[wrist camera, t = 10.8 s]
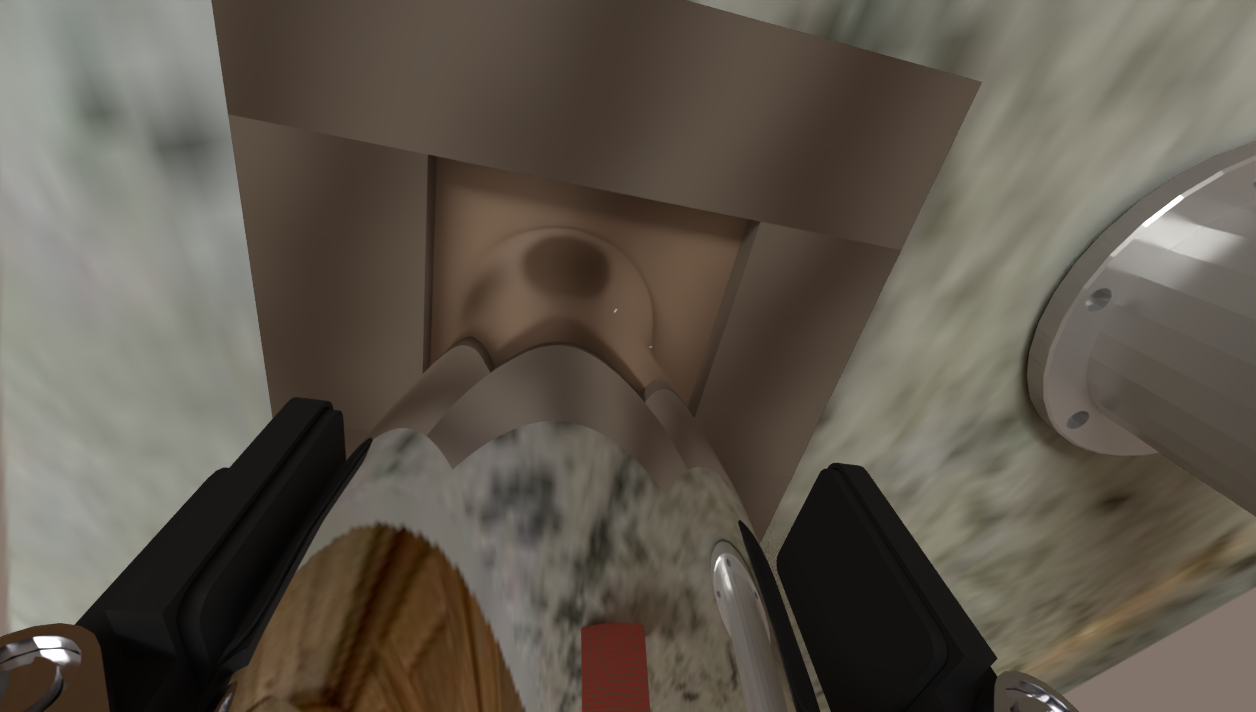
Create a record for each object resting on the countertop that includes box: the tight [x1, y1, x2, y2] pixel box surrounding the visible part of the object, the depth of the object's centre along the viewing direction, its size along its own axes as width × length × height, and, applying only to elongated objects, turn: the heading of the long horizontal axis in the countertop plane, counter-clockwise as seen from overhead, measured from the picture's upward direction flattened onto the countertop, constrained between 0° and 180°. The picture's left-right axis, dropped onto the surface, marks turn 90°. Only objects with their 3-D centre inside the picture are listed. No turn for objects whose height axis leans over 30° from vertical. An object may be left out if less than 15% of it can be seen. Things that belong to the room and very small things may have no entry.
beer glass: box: [191, 227, 820, 712], centre depth 10 cm, size 7×7×15 cm
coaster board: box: [211, 0, 982, 543], centre depth 17 cm, size 18×18×2 cm
